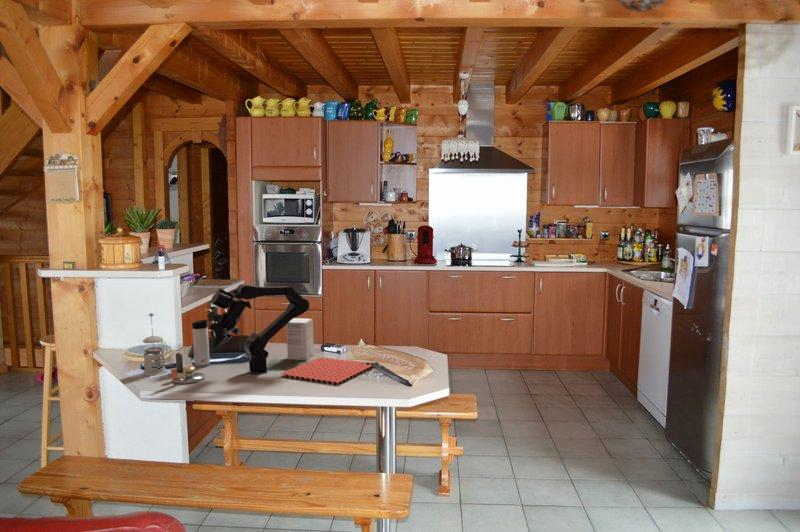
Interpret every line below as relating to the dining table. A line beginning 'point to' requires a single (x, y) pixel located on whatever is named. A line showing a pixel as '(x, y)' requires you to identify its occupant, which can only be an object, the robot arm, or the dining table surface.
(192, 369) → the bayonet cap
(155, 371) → the french press
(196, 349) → the travel mug
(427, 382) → the dining table surface
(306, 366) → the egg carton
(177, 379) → the post base
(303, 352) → the supplement box
